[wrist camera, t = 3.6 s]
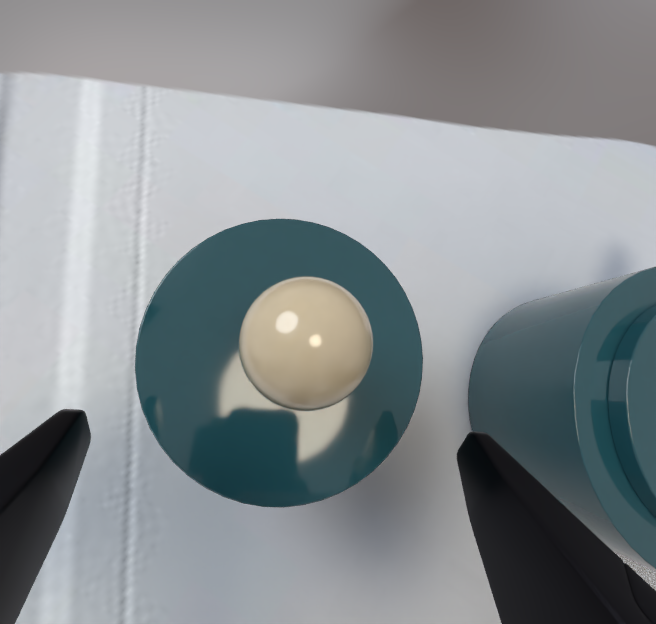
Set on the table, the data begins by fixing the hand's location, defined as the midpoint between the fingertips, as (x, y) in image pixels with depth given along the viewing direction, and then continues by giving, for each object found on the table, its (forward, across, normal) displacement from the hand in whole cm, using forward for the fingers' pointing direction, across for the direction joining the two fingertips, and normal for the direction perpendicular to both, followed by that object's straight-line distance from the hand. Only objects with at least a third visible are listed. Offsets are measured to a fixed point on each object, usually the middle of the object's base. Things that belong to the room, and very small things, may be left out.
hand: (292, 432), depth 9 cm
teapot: (+9, -20, +6) cm, 23 cm away
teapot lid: (+4, 0, +1) cm, 4 cm away
